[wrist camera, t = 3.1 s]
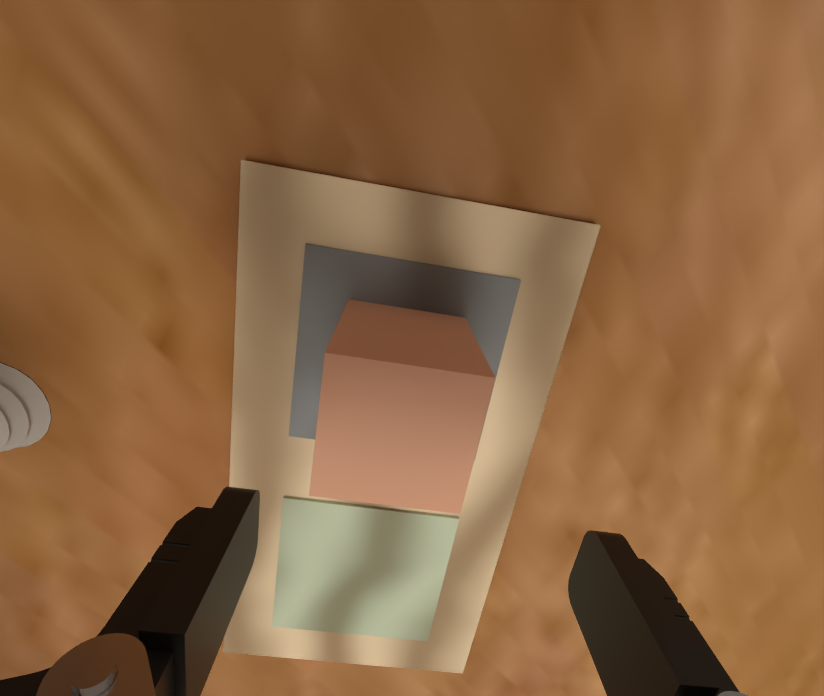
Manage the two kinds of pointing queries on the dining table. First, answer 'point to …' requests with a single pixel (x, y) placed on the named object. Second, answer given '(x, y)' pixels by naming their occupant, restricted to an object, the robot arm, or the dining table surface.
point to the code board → (300, 394)
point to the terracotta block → (400, 408)
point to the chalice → (21, 410)
